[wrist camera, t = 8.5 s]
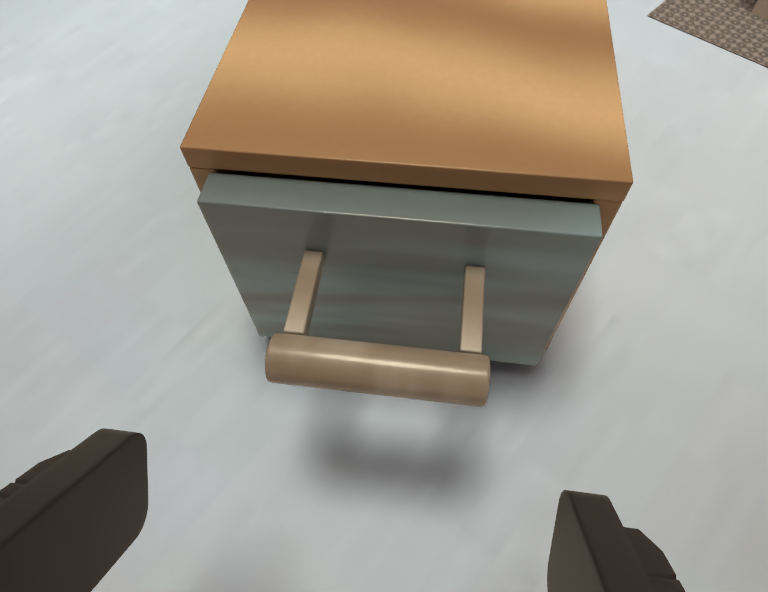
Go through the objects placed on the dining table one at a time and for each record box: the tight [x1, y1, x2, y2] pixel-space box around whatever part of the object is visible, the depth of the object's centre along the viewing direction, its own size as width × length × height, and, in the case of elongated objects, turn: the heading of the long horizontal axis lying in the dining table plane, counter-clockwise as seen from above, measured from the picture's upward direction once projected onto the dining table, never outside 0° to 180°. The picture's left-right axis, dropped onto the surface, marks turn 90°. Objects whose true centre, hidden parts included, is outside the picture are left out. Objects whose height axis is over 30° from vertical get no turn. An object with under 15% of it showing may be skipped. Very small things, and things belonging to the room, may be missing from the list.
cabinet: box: [180, 0, 633, 350], centre depth 23 cm, size 15×13×10 cm
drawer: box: [197, 172, 603, 407], centre depth 21 cm, size 18×11×8 cm, turn 172°
